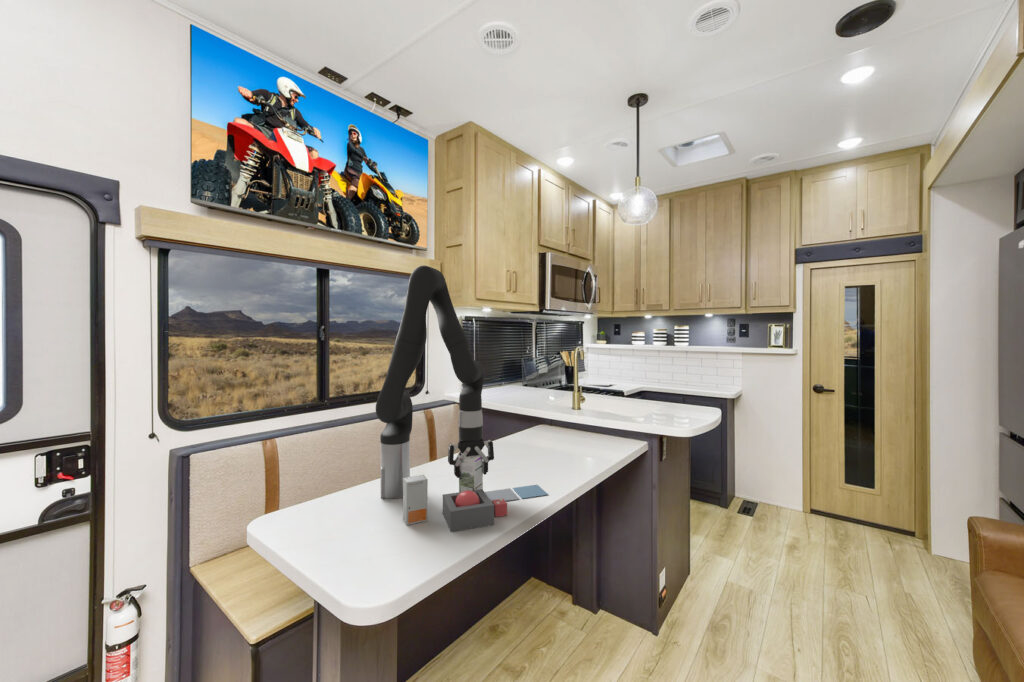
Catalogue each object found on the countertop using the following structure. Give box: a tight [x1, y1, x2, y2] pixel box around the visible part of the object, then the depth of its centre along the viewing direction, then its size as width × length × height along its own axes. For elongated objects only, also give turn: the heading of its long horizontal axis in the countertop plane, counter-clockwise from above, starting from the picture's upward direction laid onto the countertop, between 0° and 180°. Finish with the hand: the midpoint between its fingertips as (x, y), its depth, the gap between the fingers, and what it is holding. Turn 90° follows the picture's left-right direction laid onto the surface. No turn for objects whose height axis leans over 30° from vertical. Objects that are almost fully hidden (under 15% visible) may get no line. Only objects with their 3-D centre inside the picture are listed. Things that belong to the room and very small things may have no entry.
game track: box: [484, 484, 549, 502], centre depth 130 cm, size 30×9×1 cm, turn 110°
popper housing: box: [442, 488, 508, 533], centre depth 115 cm, size 17×12×6 cm
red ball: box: [455, 490, 480, 507], centre depth 114 cm, size 7×7×7 cm
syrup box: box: [458, 455, 484, 492], centre depth 127 cm, size 6×6×14 cm
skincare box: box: [402, 474, 429, 526], centre depth 114 cm, size 6×4×12 cm
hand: (471, 475), depth 127 cm, fingers open, 8 cm apart
